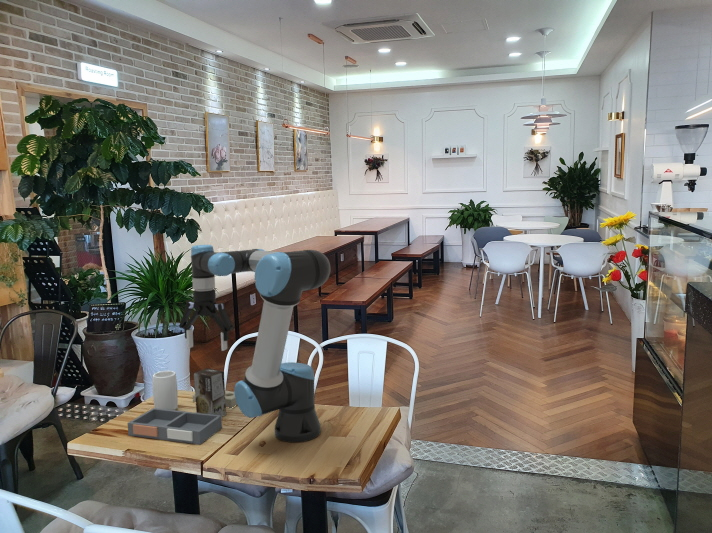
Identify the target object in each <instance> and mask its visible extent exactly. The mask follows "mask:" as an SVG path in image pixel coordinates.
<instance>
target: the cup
mask: <svg viewBox="0 0 712 533" xmlns="http://www.w3.org/2000/svg"><path fill="white" fill-rule="evenodd" d="M178 392H179V391H178V379H177V373H176V372H175V371H173V370H161V371H158V372H155V373H154V374H153V375H152V397H153V404H154V405H153V406H154V407H153V408H158V409H167V410H177V409H178V408H179V407H178V404H179V402H178V400H179V399H178V398H179V396H178Z"/></svg>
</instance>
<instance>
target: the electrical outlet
mask: <svg viewBox="0 0 712 533" xmlns="http://www.w3.org/2000/svg"><path fill="white" fill-rule="evenodd" d="M194 402H196V398H195V393H194V394H193V395H192V403H194ZM225 403H226V407H229V408H228V409H230V408H232V407H234V406H235V405H237V402H236V399H235V394H234V391H231V390H230V391H229V390H225ZM234 408H235V407H234ZM232 409H233V408H232Z"/></svg>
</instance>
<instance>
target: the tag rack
mask: <svg viewBox="0 0 712 533" xmlns="http://www.w3.org/2000/svg"><path fill="white" fill-rule="evenodd" d="M222 417H223V416H221V415H212V414H203V413H196V412H192V411H184V410H182V411H181V410H177V409H175V410H167V409H158V408H155V407H153V408H151V409H149V410H147V411H146V412H144V413H142V414H140V415H139V416H137V417H135V418H134V419H132V420H130V421H129V422H127V435H128V436H129V437H139V438H144V439H145V438H147V439H155V440H161V441H169V442H176V443H183V444H191V445H202V444H203V443H204V442H205V441H207V440H209V439H210V438H211V437H212V436H213V435H215V434H217V432H218V431H220V430H221V429H222V428H223V425H222V424H223V421H222V420H223V418H222Z"/></svg>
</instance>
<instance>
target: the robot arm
mask: <svg viewBox="0 0 712 533" xmlns="http://www.w3.org/2000/svg"><path fill="white" fill-rule="evenodd" d="M190 251H191V252H190V254H191V255H190V260H191V261H190V262H191V275H192V280H191V281H192V289H193V291H192V293H193V295H192V296H193V301H194V302H193V301H189V302H186V303H185V310H184V312H183V315H182V318H181V320H180V321H179V325H178V327H179V328H180V329H183V331H184V339H185V340H186V347H187V349H191V348H194V334H193V332H194V330H193V328H192V326H193V325H194V324H195V322H196V320H198V318H199V317H200V316H201V317H210V318H211V319H213V321H214V322H215V324H216V325H217V326H218V327H219V328H220V330H221V332H220V342H221V343H220V346H221V349H220V350H221V352H224V351H226V350H228V341H229V340H230V334H229V333H230V331H232V330H234V329H235V328H234V327H235V326H234V324H233V323H232V321H231V319H230V316H229V315H228V312H227V311H226V308H225V303H224V302H221V303H216V302H217V301H216V299H217V295H216V289H215V288H216V278H215V277H227V276H229V275H231V274H239V273H245V272H247V273H249V272H250V273H251V272H252V273H254V281H255V284H254V285H255V288H256V290H257V291H258V293H259V295H260V297H261V298H262V300H263V304H262V310H261V315H260V321H259V326H258V332H257V337H256V342H255V347H254V352H253V353H254V354H253V357H252V363H251V364H252V365H250V366H249V367H248V368H247V369H246V370H245V374H244V378H243V380H239V381H238V382H235V385H234V391H233V392H234V394H235V399H236V402H237V405H238V409H239V410H240V412H241V413H242V414H243V416H245V417H247V418H251V419H252V418H257V417H262V416H264V415H267V414H269V413H273V412H275V411H278V414H277V418H276V421H275V425H274V437H275V438H277V439H278V440H280V441H282V442H287V443H288V442H289V443H301V442H303V443H304V442H308V441H311V440H313V439H316V438H317V437H319V435H320V434H321V432H322V431H321V429H322V428H321V422H320V420H319V417H318V415H317V411H316V407H315V380H316V378H315V375H314V374H315V372H314V368H313V367H312V366H311V365H309V364H306V363H301V362H300V363H299V362H290V361H289V362H283V358H284V353H285V350H286V349H285V348H286V343H287V339H288V334H289V329H290V326H291V325H290V324H291V319H292V314H293V310H294V307H295V306H297V305H298V304H300V302H301V298H302V293H303V292H304V291H310V290H315V289H318V288H319V287H320V288H321V286H323V285H324V284H326V282H327V281H328V279H329V278H330V274H331V263H330V261H329V259H328V257H327V256H326V255H325V253H323V252H321V251H319V250H316V249H303V250H293V251H285V252H283V251H270V250H265V249H263V248H252V249H243V250H233V251H231V250H230V251H221V252H219V251H218V252H216V251H215V250H214V246H213V245H211V244H195V245H193V246H192V247H191V249H190ZM193 309H194V312H193V314H192V311H193ZM191 314H192V316H191ZM190 316H191V317H190Z"/></svg>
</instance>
